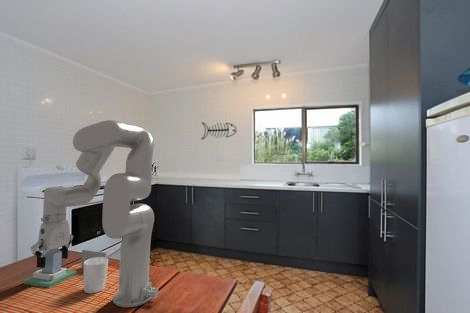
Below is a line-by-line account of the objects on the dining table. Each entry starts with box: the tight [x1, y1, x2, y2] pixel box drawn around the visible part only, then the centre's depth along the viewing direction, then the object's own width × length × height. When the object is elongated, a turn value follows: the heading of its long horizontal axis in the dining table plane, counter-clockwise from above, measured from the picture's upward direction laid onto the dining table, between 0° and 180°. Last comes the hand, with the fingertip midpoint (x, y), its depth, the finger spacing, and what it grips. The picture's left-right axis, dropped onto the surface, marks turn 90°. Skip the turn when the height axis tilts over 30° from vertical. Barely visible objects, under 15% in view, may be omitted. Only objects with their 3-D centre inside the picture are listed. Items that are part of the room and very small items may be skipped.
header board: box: [22, 267, 78, 288], centre depth 98 cm, size 12×12×3 cm
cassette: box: [80, 249, 108, 267], centre depth 108 cm, size 12×2×8 cm, turn 76°
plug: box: [41, 249, 63, 274], centre depth 98 cm, size 6×4×9 cm, turn 78°
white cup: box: [83, 257, 109, 294], centre depth 91 cm, size 8×8×10 cm
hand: (52, 262), depth 98 cm, fingers open, 9 cm apart
